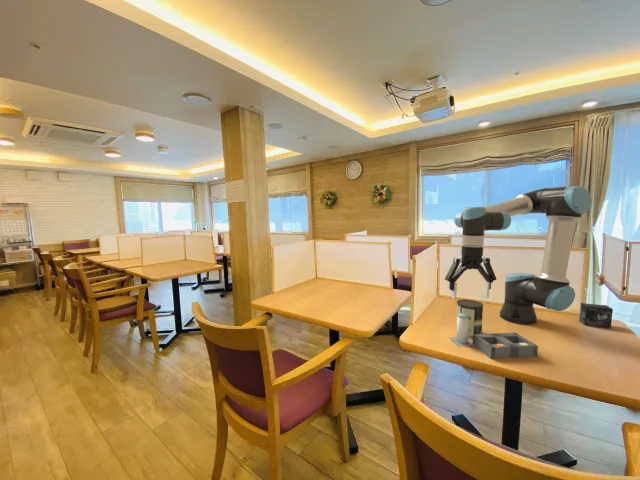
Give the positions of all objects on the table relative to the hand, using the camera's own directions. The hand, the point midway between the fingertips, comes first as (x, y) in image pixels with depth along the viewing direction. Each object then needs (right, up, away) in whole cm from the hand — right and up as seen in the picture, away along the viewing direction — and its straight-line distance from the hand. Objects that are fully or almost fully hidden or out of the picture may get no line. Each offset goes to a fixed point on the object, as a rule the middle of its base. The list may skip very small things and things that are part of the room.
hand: (469, 297), depth 109 cm
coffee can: (+6, -19, +12) cm, 23 cm away
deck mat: (-1, -20, +4) cm, 20 cm away
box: (+69, -17, +18) cm, 73 cm away
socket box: (+11, -20, -4) cm, 23 cm away
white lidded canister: (-1, -19, +4) cm, 20 cm away
